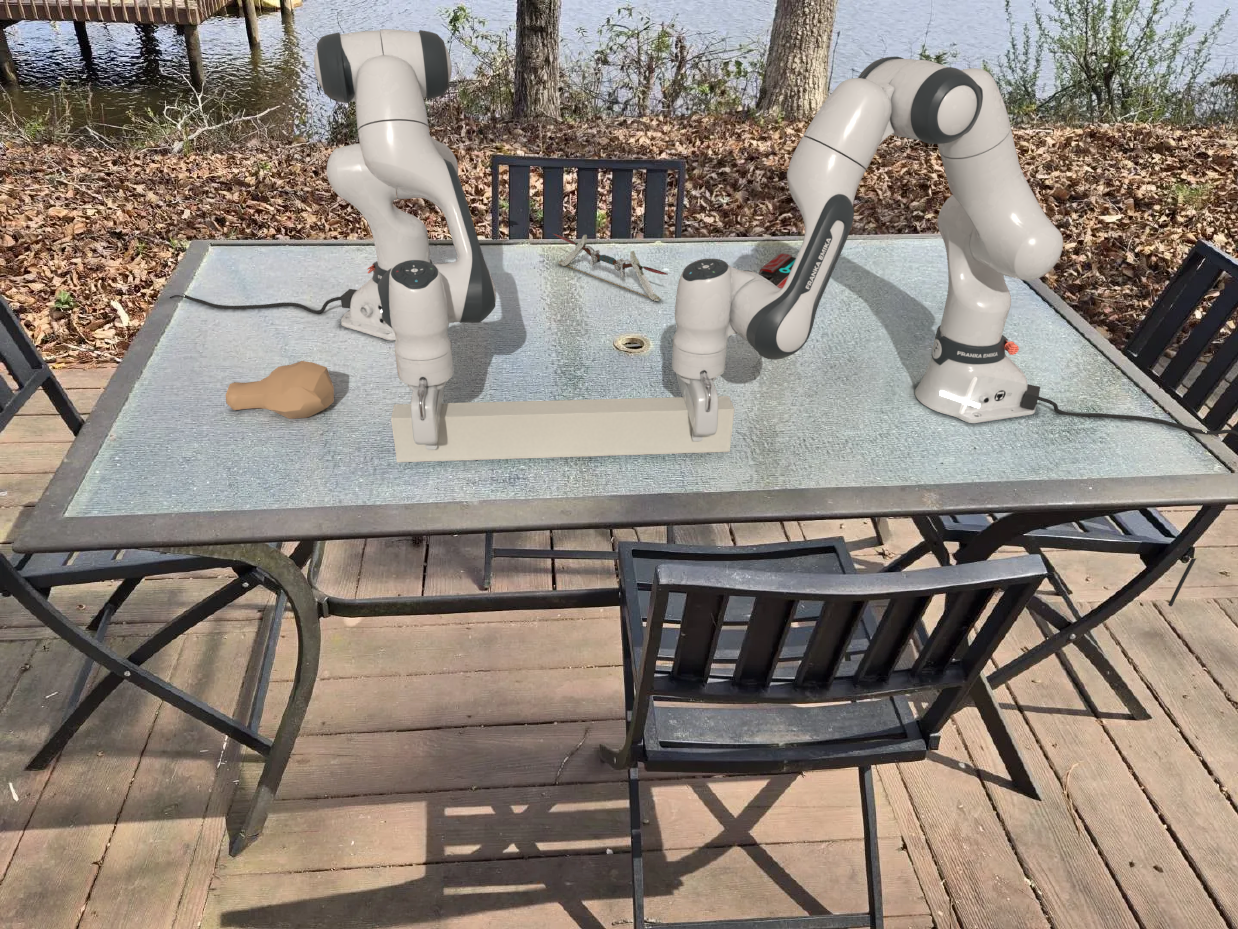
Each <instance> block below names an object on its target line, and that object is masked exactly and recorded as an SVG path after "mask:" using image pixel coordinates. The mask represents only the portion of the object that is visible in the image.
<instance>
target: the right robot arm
mask: <svg viewBox="0 0 1238 929" xmlns="http://www.w3.org/2000/svg"><path fill="white" fill-rule="evenodd" d="M891 135H894V136H896V137H900V138H907V139H911V140H916V141H921V142H923V143H926V144H930V145H937V146H938V147H937V148H938V152H939V155H940V159H941V162H942V166H943V169H944V174H945V177H946V181H947V184H948V188H949V191H950V193H951V194H952V195H950V196H949V197H948V198H947V199H946V200H945V201H944V203H943V204H942V206H941V208H940V210H939V213H938V216H937V228H938V232H939V233H940V236H941V239H942V240H943V244H944V247H945V253H946V262H947V275H948V276H947V278H948V282H947V284H948V285H947V293H946V294H947V295H946V298H945V299H946V300H945V304H944V309H943V314H942V317H941V321H940V325H939V326H938V327H937V328H936V332H935V334H934V338H933V342H932V347H931V355H930V356H931V357H930V359H929V362H928V365H927V367H926V370H925V372H924V374H923V376H922V378H921V379H920V382H919V383H918V385H917V386H916V387H915V390H914V395H915V397H916V399H917V400H918V401H919V403H921V404H922V405H923V406H925V407H927V408H928V409H930V410H933V411H935V412H937V413H940V414H943V415H947V416H950V417H953V418H957V419H959V420H961V421H963V422H966V423H968V424H978V423H985V422H991V421H997V420H1005V419H1011V418H1019V417H1025V416H1031V415H1035V413H1036V409H1037V408H1036V406H1037V403H1038V401H1040V402H1042V403H1046V404H1049V405H1051V406H1052V407H1053V410H1054V412H1056V413H1057V414H1059V415H1063V416H1072V417H1073V416H1074V417H1082V418H1106V419H1107V418H1108V419H1122V420H1136V421H1145V422H1153V423H1157V424H1162V425H1166V426H1169V427H1174V428H1177V429H1181V430H1184V431H1187V432H1188V431H1189V432H1192V433H1197V434H1202V435H1208V434H1209V435H1211V436H1215V435H1224V434H1232V435H1234V436H1235V437H1236V438H1238V431H1237V430H1234V429H1219V430H1208V429H1207V430H1206V429H1205V430H1206V431H1207V434H1205V432H1203V431H1202V430H1203V429H1200V428H1196V427H1192V426H1188V425H1184V424H1182V423H1181V424H1180V423H1176V422H1173V421H1168V420H1165V419H1161V418H1155V417H1150V416H1141V415H1129V414H1116V413H1115V414H1113V413H1103V412H1101V413H1100V412H1095V413H1094V412H1086V413H1084V412H1083V413H1081V412H1068V411H1064V410H1061V409H1059V405H1058V404H1057V403H1056V402H1055V401H1053V400H1051V399H1049V398H1045V397H1042V396H1040V393H1041V392H1040V391H1041V386H1038V385H1034V384H1029V383H1028V379H1027V376H1026V374H1025V373H1024V371H1023V370H1022V369H1021V368H1020V367H1019V366H1018V365H1017V364H1016V363H1015V362H1014V361H1013V360H1012V359H1011V358H1010V357H1009V356H1008V355H1011V356H1014V355H1016V354H1017V353H1018V352H1019V351H1020V346H1018V345H1017V344H1016V343H1015V342H1014V341H1009V338H1007V337H1006V336H1005V335H1004V334H1003V333H1004V330H1005V326H1006V323H1007V319H1008V316H1009V313H1010V309H1011V306H1012V297H1011V293H1010V289H1009V287H1008V285H1007V283H1006V280H1005V277H1009V278H1013V279H1016V280H1021V281H1027V282H1028V281H1029V282H1030V281H1035V280H1038V279H1040V278H1043V277H1044V276H1045V275H1047V274H1048V273H1050V272H1051V270H1052V269H1053V268H1054V267H1055V266H1056V265H1057V263H1058V261H1059V260H1060V257H1061V255H1062V252H1063V247H1064V239H1063V235H1062V233H1061V231H1060V230H1059V229H1058V228H1057V226H1055V224H1054V223H1053V222H1052V221H1051V220H1050V218H1049V217H1048V216H1047V214H1046V213H1045V211H1044V210H1043V209H1042V207H1041V205H1040V203H1039V201H1038V199H1037V198H1036V196H1035V194H1034V192H1033V190H1032V188H1031V186H1030V185H1029V183H1028V180H1027V178H1026V177H1025V174H1024V172H1023V171H1022V167H1021V164H1020V162H1019V157H1018V153H1017V149H1016V145H1015V141H1014V137H1013V131H1012V126H1011V121H1010V117H1009V114H1008V111H1007V107H1006V104H1005V102H1004V99H1003V96H1002V94H1001V91H1000V88H999V87H998V84H997V82H996V81H995V79H994V77H993V76H992V75H991V73H989V71H987V70H985V69H982V68H976V67H969V68H964V69H959V68H957V67H952V66H946V65H944V64H941V63H938V62H935V61H931V60H927V59H915V58H904V57H902V56H886V57H881V58H879V59H876V60H874V61H873V62H871V63H870V64H868V65H867V66H866V67H865V68H864V69H863V70H862V71H861V73H859V75H858V76H857V77H851V78H848V79H845V80H843V81H842V82H840V83H839V84H838V85H837V86H836V87H835V88H834V89H833V91H832V92H831V93H830V95H829V96H828V97H827V98H826V100H825V101H824V102H823V104H822V105H821V106H820V108H819V110H818V111H817V113H816V114H815V115H814V117H813V119H812V120H811V122H810V124H809V125H808V126H807V129H806V130H805V132H804V134H803V135H802V137H801V138H800V140H799V143H798V145H797V146H796V148H795V150H794V152H793V154H792V156H791V158H790V161H789V164H788V168H787V171H786V181H787V182H786V183H787V187H788V190H789V193H790V196H791V198H792V200H793V201H794V203H795V205H796V206H797V208H798V211H799V212H800V215H801V217H802V220H803V225H804V234H803V236H804V237H803V240H802V241H803V242H802V244H801V246H800V248H799V251H798V253H797V255H796V257H795V258H796V260H795V262H794V264H793V267H792V269H791V271H790V274H789V276H788V278H787V281H786V283H785V285H784V287H783V288H782V289H780V288H778V287H777V286H775V285H774V284H773V283H772V282H770V281H769V280H767V279H766V278H764V277H763V276H761V275H759V274H758V273H757V272H755V271H752V270H742V269H741V270H740V269H739V268H736V267H733V266H731V265H730V264H729V263H728V262H726V261H725V260H723V259H719V258H701V259H697V260H695V261H693V262H691V263H689V264H687V265H686V266H685V267H684V268H683V270H682V272H681V274H680V276H679V279H678V282H677V288H676V295H675V304H674V321H675V326H676V328H675V332H674V335H673V336H672V340H671V341H672V342H671V346H672V355H671V368H672V370H673V372H674V373H675V375H676V380H677V384H678V387H679V390H680V393H681V397H683V399H684V402H685V405H686V408H687V411H688V415H689V418H690V421H691V424H692V427H693V428H692V429H691V437H692V440H693V441H694V442H696V441H702V440H703V436H708V435H714V434H715V433H716V431H717V424H718V396H719V395H718V394H719V393H718V390H717V388H716V385H715V383H714V382H715V381H716V380H717V378H718V377H720V376H722V375H723V374H724V373H725V371H726V362H727V352H728V341H729V338H730V336H732V335H738V336H740V337H741V338H742V339H744V340H745V341H746V342H748V344H749V345H750V346H751V347H752V348H753V349H754V350H755V351H756V352H757V353H758V354H759V355H760V356H761V357H762V358H764V359H766V360H773V361H776V360H781V359H785V358H788V357H790V356H792V355H795V354H796V353H797V352H798V351H800V350H801V349H802V348H803V347H804V346H805V344H806V343H807V342H808V340H809V338H810V336H811V334H812V331H813V327H814V323H815V319H816V314H817V311H818V308H819V305H820V302H821V300H822V298H823V296H824V293H825V291H826V289H827V286H828V284H829V281H830V279H831V277H832V275H833V272H834V270H835V268H836V266H837V263H838V261H839V258H840V256H841V254H842V252H843V250H844V248H845V246H846V245H845V244H846V242H847V240H848V238H849V235H850V233H851V229H852V226H853V222H854V218H855V208H854V201H855V198H856V197H855V196H856V195H857V192H858V189H859V185H860V184H861V181H862V179H863V177H864V176H865V174H866V171H867V170H868V168H869V166H870V164H871V162H872V160H873V159H874V157H875V155H876V152H877V151H878V148H879V146H880V145H881V144H882V142H883V141H884V140H886V139H887V138H888V137H889V136H891ZM1006 352H1007V353H1008V355H1007V354H1006ZM706 411H707V412H706ZM1209 435H1208V436H1209ZM1196 560H1197V558H1191V559H1190V560H1189V563H1188V564H1187V566H1186V569H1185V571H1184V572H1183V574H1182V576H1181V577H1180V580H1179V582H1178V584H1177V586H1176V588H1175V590H1174V592H1173V594H1172V596H1171V598H1170V600H1169V602H1168V604H1167V605H1168V606H1169V607H1173V606H1174V604H1175V601H1176V599H1177V597H1178V595H1179V593H1180V591H1181V589H1182V587H1183V585H1184V583H1185V581H1186V579H1187V577H1188V575H1189V573H1190V571H1191V570H1192V568H1193V566H1194V564H1195V562H1196Z"/></svg>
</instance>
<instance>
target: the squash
mask: <svg viewBox="0 0 1238 929" xmlns="http://www.w3.org/2000/svg"><path fill="white" fill-rule="evenodd" d="M334 398H335V386H334V384H333V381H332V378H331V374H330V372H329V369H328V367H327V366H324V365H321V364H318V363H315V362H312V361H307V360H306V361H305V360H300V361H297V362H295V363H291V364H286V365H281V366H277V367H276V368H275V369H274V370H272V371H271V372H270V373H269V375H268V376H266V377H264V378H263V379H261V380H256V381H248V382H241V381H240V382H237V381H236V382H235V381H234V382H232V383H229V384H228V387H227V390H226V393H225V404H227V405H228V406H229V408H231V409H232V411H239V410H245V409H246V410H248V409H249V410H250V409H263V410H269V411H271V412H274V413H275V414H278V415H280V416H282V417H285V418H287V419H288V420H292V419H308V418H310V417H312V416H314V415H316V414H318V413H320V412H322V411H324V410H326V409H328V408H329V407H330V406H331V405H332V404H334V402H335V400H334Z"/></svg>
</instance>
